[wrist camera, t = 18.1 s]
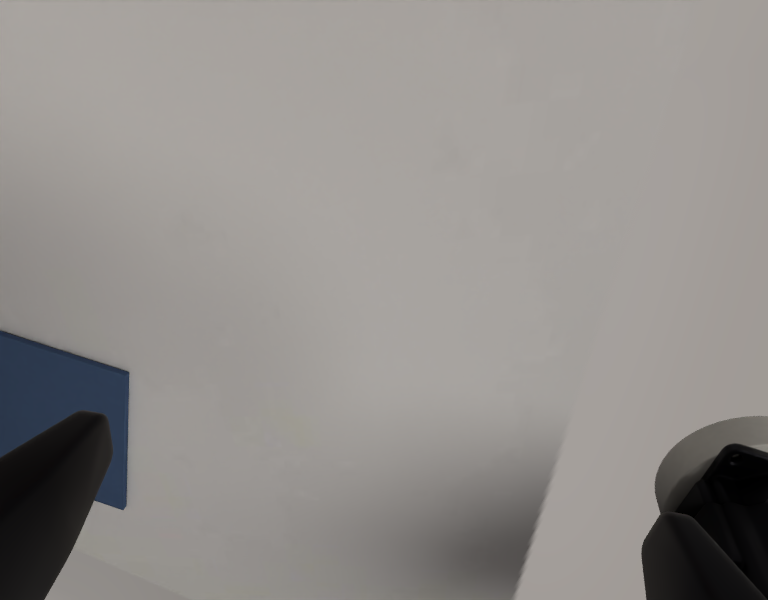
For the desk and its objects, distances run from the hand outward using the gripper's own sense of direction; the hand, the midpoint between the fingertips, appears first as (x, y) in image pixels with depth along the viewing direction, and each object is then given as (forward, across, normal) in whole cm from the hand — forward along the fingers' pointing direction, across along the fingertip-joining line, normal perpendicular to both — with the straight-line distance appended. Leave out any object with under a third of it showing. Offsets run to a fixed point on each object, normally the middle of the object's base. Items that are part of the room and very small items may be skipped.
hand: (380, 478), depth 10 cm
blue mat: (+13, +16, +15) cm, 26 cm away
